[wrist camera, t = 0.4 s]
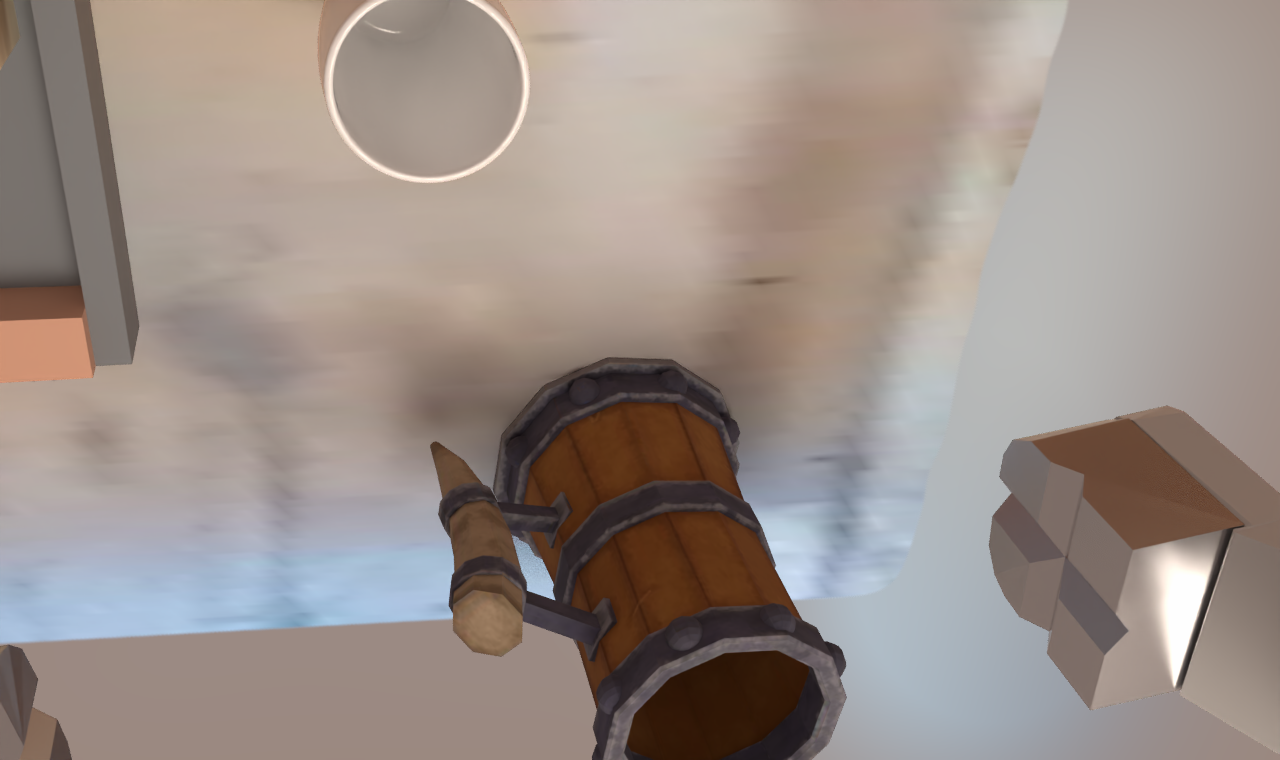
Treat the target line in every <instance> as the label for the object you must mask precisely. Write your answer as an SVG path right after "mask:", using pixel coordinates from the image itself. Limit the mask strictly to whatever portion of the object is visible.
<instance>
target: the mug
mask: <svg viewBox="0 0 1280 760" xmlns="http://www.w3.org/2000/svg"><path fill="white" fill-rule="evenodd" d="M739 434H740V431H739V428H738V425H737V422H736V421H735V420H733V419H731V418H730V416H729V413H728V410H727V407H726V405H725V402H724V399H723V396H722V394H721V392H720V391H719V390H718V389H717V388H715V387H714V386H712V385H710V384H709V383H707V382H706V381H704V380H703V379H701V378H700V377H698V376H696V375H695V374H693V373H692V372H690V371H689V370H687V369H686V368H684V367H682V366H681V365H679V364H678V363H676V362H675V361H673V360H658V359H628V358H606V359H603V360H601V361H599V362H597V363H594V364H592V365H590V366H587V367H585V368H583V369H581V370H578V371H576V372H574V373H572V374H569V375H567V376H565V377H562V378H560V379H558V380H556V381H553V382H551V383H549V384H546V385H544V386H543V387H542V388H541V390H540V391H539V392H538V393H537V394H536V395H535V397H534V398H533V399H532V400H531V401H530V402H529V404H528V405H527V406H526V407H525V408H524V410H523V411H522V412H521V413H520V414H519V415H518V417H517V418H516V419H515V420H514V421H513V422H512V424H511V425H510V426H509V427H508V428H507V429H506V431H505V432H504V433H503V434H502V438H501V444H500V450H499V457H498V463H497V469H496V476H495V482H494V488H493V490H494V494H495V496H496V498H497V500H498V502H497V500H496V498H495V496H494V494H493V492H492V491H491V489H490V487H488V486H485V485H483V484H482V483H481V481H480V480H479V479H478V478H477V476H476V475H475V474H474V473H473V471H472V470H471V469H470V467H469V466H468V465H467V464H466V462H465V461H464V460H462V459H461V458H460V457H458V456H457V455H455V454H454V453H452V452H451V451H450V450H448V449H447V448H445V447H444V446H443V445H441V444H440V443H438V442H437V441H436V442H433V443H432V444H431V445H430V448H431V452H432V455H433V459H434V463H435V467H436V470H437V474H438V479H439V484H440V488H441V493H442V498H443V499H442V500H441V501H440V506H439V513H438V515H439V517H440V520H441V522H442V525H443V527H444V529H445V531H446V532H447V534H448V535H449V537H450V538H451V544H452V549H453V554H454V573H453V575H452V580H451V588H450V597H449V607H450V609H451V611H452V612H453V631H454V632H455V633H456V634H457V635H458V636H459V638H460V639H461V640H462V641H463V642H464V643H465V644H466V645H467V646H468V647H469V648H470V649H471V650H472V651H473V652H477V653H483V654H488V655H494V656H500V657H501V656H503V655H504V654H506V653H507V652H509V651H510V650H512V649H513V648H514V647H516V646H517V645H519V644H520V643H522V622H523V621H524V622H527V623H530V624H532V625H535V626H538V627H541V628H544V629H546V630H550V631H552V632H555V633H558V634H561V635H563V636H566V637H569V638H572V639H573V640H574V642H575V644H576V645H577V647H578V649H579V651H580V655H581V658H582V661H583V665H584V668H585V671H586V675H587V678H588V681H589V685H590V688H591V691H592V694H593V698H594V701H595V705H596V708H597V713H596V717H595V721H594V725H593V730H594V733H595V737H596V740H597V745H596V747H595V750H594V752H593V755H592V760H812V759H813V758H814V757H815V756H816V755H817V754H818V753H819V752H820V751H821V750H822V749H823V748H824V747H825V746H827V744H828V743H829V742H830V739H831V736H832V734H833V731H834V729H835V726H836V724H837V721H838V718H839V716H840V713H841V711H842V708H843V706H844V703H845V700H846V698H847V697H846V694H845V691H844V688H843V685H842V682H841V679H840V677H841V675H842V674H843V672H844V669H845V667H846V661H845V658H844V655H843V652H842V650H841V649H840V648H839V646H837V645H835V644H832V643H829V642H824V640H823V639H822V637H821V635H820V633H819V632H818V629H817V628H816V627H815V626H813V625H811V624H809V623H807V622H805V621H803V620H802V619H801V617H800V615H799V613H798V611H797V609H796V607H795V606H794V604H793V602H792V600H791V598H790V596H789V594H788V593H787V591H786V589H785V587H784V585H783V583H782V581H781V579H780V578H779V576H778V574H777V572H776V570H775V566H776V565H775V562H774V559H773V556H772V554H771V551H770V548H769V546H768V543H767V540H766V537H765V535H764V532H763V529H762V527H761V525H760V523H759V521H758V519H757V517H756V516H755V514H754V512H753V510H752V508H751V506H750V505H749V503H747V502H745V501H744V499H743V496H742V494H741V491H740V488H739V486H738V483H737V480H736V476H737V472H738V469H739V462H738V459H737V457H736V452H737V449H738V445H739V441H738V437H739ZM511 534H512V535H514V536H516V537H518V538H519V540H521V541H523V542H525V543H527V544H529V546H530V547H531V549H532V551H533V553H534V555H535V556H537V557H539V558H541V559H543V562H544V564H545V566H546V568H547V570H548V572H549V575H550V577H551V579H552V581H553V583H554V587H553V593H554V597H555V600H556V601H555V600H552V599H549V598H546V597H544V596H541V595H538V594H535V593H532V592H529V591H527V582H526V580H525V578H524V576H523V574H522V572H521V568H520V564H519V561H518V557H517V553H516V550H515V546H514V542H513V539H512V535H511Z"/></svg>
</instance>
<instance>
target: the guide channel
mask: <svg viewBox="0 0 1280 760" xmlns="http://www.w3.org/2000/svg"><path fill="white" fill-rule="evenodd" d="M13 1H14V7H15V12H16V18H17V23H18V28H19V34H20V38H19V40H18V42H17V43H16V45H15V47H14V48H13V50H12V52H11V53H10V55H9V56H8V58H7V60H6V61H5V63H4V65H3V66H2V68H1V69H0V383H5V382H23V381H42V380H60V379H79V378H93V375H94V371H95V367H96V366H105V365H124V364H132V361H133V356H134V351H135V346H136V340H137V335H138V330H139V321H138V315H137V308H136V301H135V295H134V288H133V282H132V275H131V269H130V262H129V255H128V249H127V242H126V236H125V229H124V222H123V216H122V209H121V203H120V196H119V190H118V183H117V176H116V170H115V163H114V157H113V150H112V143H111V137H110V130H109V124H108V117H107V111H106V104H105V97H104V91H103V84H102V78H101V71H100V64H99V58H98V51H97V45H96V38H95V32H94V25H93V18H92V12H91V5H90V0H13Z"/></svg>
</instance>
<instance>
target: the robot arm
mask: <svg viewBox="0 0 1280 760" xmlns="http://www.w3.org/2000/svg"><path fill="white" fill-rule="evenodd" d="M999 477H1000V479H1001V480H1002V481H1003V482H1004V484H1005V485H1006V486H1007V487H1008V489H1009V490H1010V491H1011V494H1010V496H1009V497H1008V498H1007V499H1006V500H1005V502H1004V503H1003V504H1002V505H1001V506H1000V508H999V509H998V510H997V511H996V513H995V514H994V515H993V517H992V525H991V533H990V541H989V548H990V553H991V559H992V563H993V569H994V574H995V576H996V578H997V581H998V583H999V585H1000V587H1001V589H1002V592H1003V594H1004V596H1005V597H1006V599H1007V600H1008V602H1009V603H1010V604H1011V606H1012V607H1013V608H1014V610H1015V611H1016V613H1017V614H1018V615H1019V617H1021V618H1023V619H1025V620H1027V621H1030V622H1031V623H1033V624H1036V625H1037V626H1040V627H1042V628H1044V629H1046V630H1048V631H1049V639H1048V650H1047V654H1048V655H1049V657H1050V658H1051V659H1052V660H1053V662H1054V663H1055V665H1056V666H1057V667H1058V668H1059V670H1060V671H1061V672H1062V674H1063V675H1064V676H1065V678H1066V679H1067V680H1068V682H1069V683H1070V684H1071V686H1072V687H1073V688H1074V689H1075V691H1076V692H1077V693H1078V695H1079V696H1080V697H1081V699H1082V700H1083V701H1084V703H1085V704H1086V705H1087V706H1088V708H1089V709H1090V710H1094V709H1098V708H1103V707H1107V706H1111V705H1116V704H1121V703H1125V702H1129V701H1134V700H1138V699H1142V698H1147V697H1152V696H1156V695H1160V694H1164V693H1169V692H1174V691H1178V690H1181V692H1180V695H1181V696H1182V697H1184V698H1186V699H1187V700H1189V701H1191V702H1192V703H1194V704H1196V705H1197V706H1199V707H1201V708H1202V709H1204V710H1206V711H1207V712H1209V713H1211V714H1212V715H1214V716H1216V717H1217V718H1219V719H1221V720H1222V721H1224V722H1225V723H1227V724H1229V725H1231V726H1233V727H1234V728H1235V729H1237V730H1239V731H1240V732H1242V733H1244V734H1246V735H1247V736H1249V737H1250V738H1252V739H1254V740H1255V741H1257V742H1259V743H1260V744H1262V745H1264V746H1265V747H1267V748H1269V749H1271V750H1272V751H1274V752H1275V753H1277V754H1279V755H1280V493H1279V492H1277V491H1276V490H1275V489H1274V488H1273V487H1272V486H1270V485H1269V484H1268V483H1267V482H1266V481H1265V480H1264V479H1262V478H1261V477H1260V476H1259V475H1258V474H1257V473H1255V472H1254V471H1253V470H1252V469H1251V468H1250V467H1248V466H1247V465H1246V464H1245V463H1244V462H1243V461H1241V460H1240V459H1239V458H1238V457H1237V456H1236V455H1234V454H1233V453H1232V452H1231V451H1230V450H1229V449H1227V448H1226V447H1225V446H1224V445H1223V444H1222V443H1220V442H1219V441H1218V440H1217V439H1216V438H1214V437H1213V436H1212V435H1211V434H1210V433H1209V432H1208V431H1206V430H1205V429H1204V428H1203V427H1202V426H1201V425H1199V424H1198V423H1197V422H1196V421H1195V420H1194V419H1192V418H1191V417H1190V416H1189V415H1188V414H1187V413H1185V412H1184V411H1181V410H1179V409H1176V408H1173V407H1170V406H1163V407H1158V408H1154V409H1149V410H1145V411H1141V412H1136V413H1132V414H1127V415H1123V416H1118V417H1116V418H1115V419H1112V420H1104V421H1099V422H1095V423H1090V424H1085V425H1081V426H1076V427H1071V428H1066V429H1062V430H1057V431H1053V432H1048V433H1043V434H1038V435H1034V436H1029V437H1024V438H1019V439H1014V440H1012V442H1011V444H1010V445H1009V447H1008V448H1007V450H1006V451H1005V453H1004V455H1003V460H1002V465H1001V471H1000V476H999ZM37 682H38V678H37V676H36V674H35V672H34V671H33V669H32V667H31V665H30V663H29V661H28V659H27V658H26V656H25V654H24V652H23V650H22V649H21V648H18V647H14V646H11V645H4V646H0V760H72V758H71V754H70V750H69V746H68V742H67V740H66V738H65V736H64V733H63V731H62V729H61V727H60V724H59V722H58V720H57V719H56V718H54V717H52V716H49V715H47V714H45V713H43V712H41V711H39V710H37V709H35V708H33V707H32V706H33V701H34V696H35V692H36V686H37Z"/></svg>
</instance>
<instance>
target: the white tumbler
mask: <svg viewBox="0 0 1280 760" xmlns="http://www.w3.org/2000/svg"><path fill="white" fill-rule="evenodd" d="M318 66H319V74H320V80H321V85H322V90H323V94H324V97H325V101H326V105H327V109H328V112H329V115H330V117H331V120H332V122H333V124H334V126H335V128H336V130H337V132H338V133H339V135H340V136H341V138H342V139H343V141H344V142H345V143H346V144H347V146H348V147H349V148H350V149H351V150H352V151H353V152H354V153H355V154H356V155H357V156H358V157H359V158H361V159H362V160H363V161H364V162H366V163H367V164H369V165H370V166H372V167H373V168H375V169H377V170H378V171H380V172H382V173H385V174H387V175H389V176H392V177H395V178H398V179H401V180H406V181H411V182H418V183H439V182H446V181H451V180H455V179H459V178H462V177H465V176H467V175H469V174H472V173H474V172H476V171H478V170H480V169H481V168H483V167H485V166H486V165H488V164H489V163H490V162H492V161H493V160H494V159H495V158H497V157H498V156H499V155H500V154H501V153H502V152H503V151H504V150H505V149H506V147H507V146H508V145H509V144H510V143H511V141H512V140H513V138H514V137H515V135H516V134H517V132H518V130H519V128H520V126H521V124H522V122H523V119H524V117H525V113H526V110H527V106H528V101H529V95H530V73H529V66H528V61H527V57H526V54H525V51H524V48H523V46H522V43H521V41H520V39H519V36H518V34H517V32H516V29H515V27H514V25H513V23H512V21H511V19H510V17H509V15H508V14H507V12H506V10H505V8H504V7H503V5H502V4H501V2H500V1H499V0H324V4H323V8H322V13H321V18H320V23H319V31H318Z"/></svg>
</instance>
